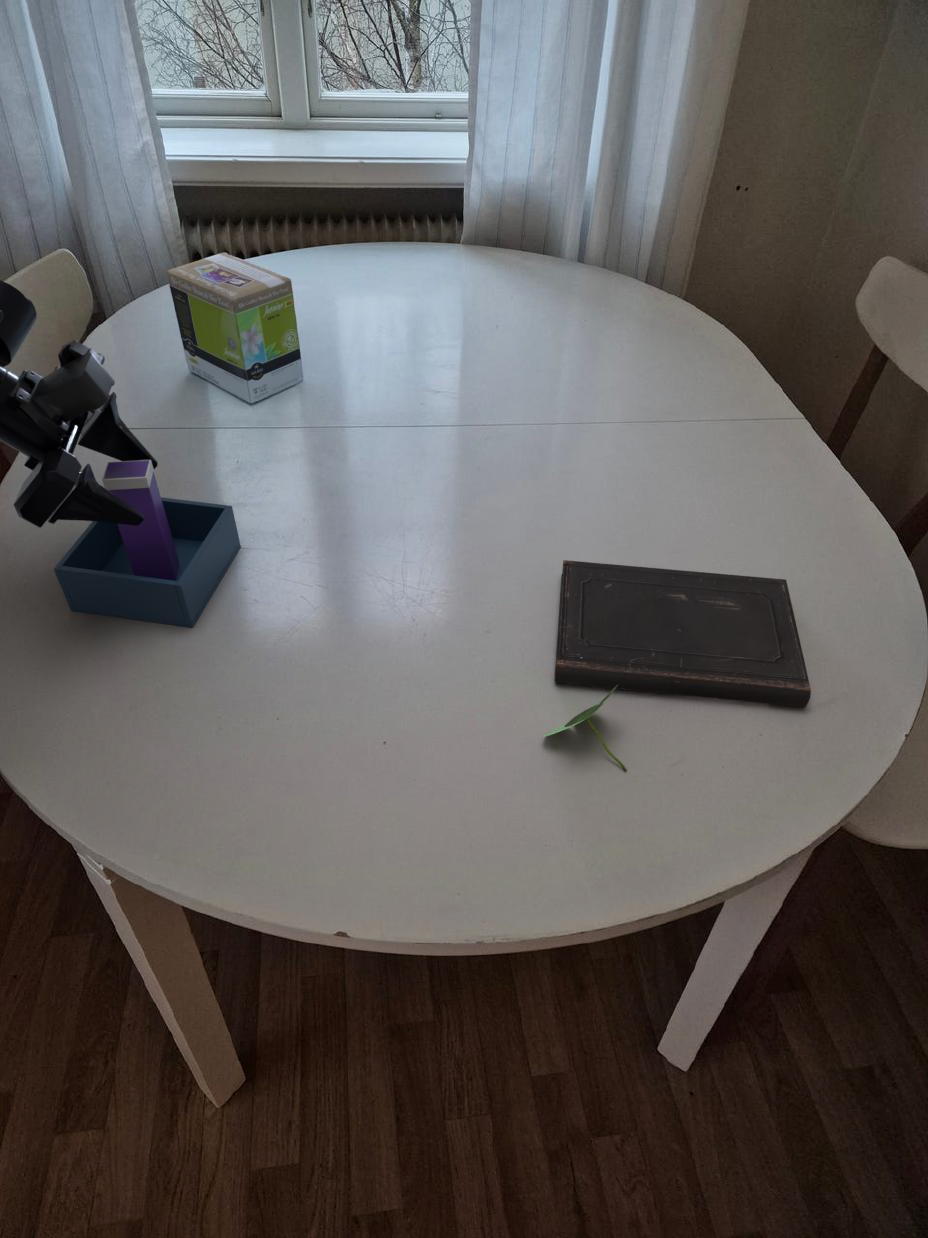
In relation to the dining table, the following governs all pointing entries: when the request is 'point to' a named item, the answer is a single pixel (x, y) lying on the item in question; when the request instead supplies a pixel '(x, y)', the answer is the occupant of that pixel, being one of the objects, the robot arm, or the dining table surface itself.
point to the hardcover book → (679, 634)
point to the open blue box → (109, 586)
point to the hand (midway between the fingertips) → (148, 493)
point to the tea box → (237, 325)
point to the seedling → (586, 715)
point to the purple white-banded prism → (153, 536)
